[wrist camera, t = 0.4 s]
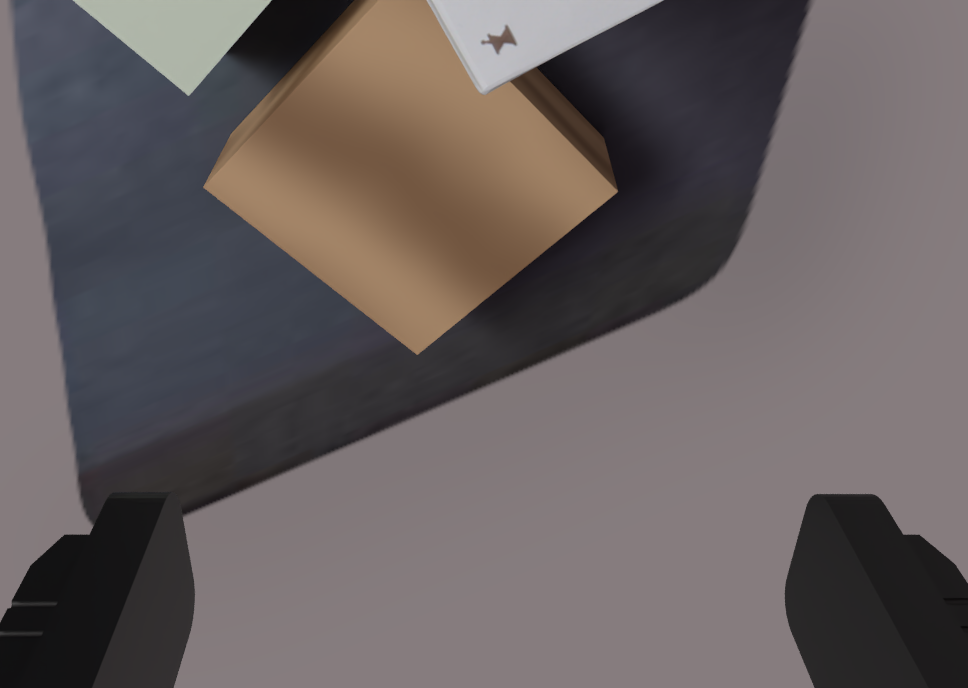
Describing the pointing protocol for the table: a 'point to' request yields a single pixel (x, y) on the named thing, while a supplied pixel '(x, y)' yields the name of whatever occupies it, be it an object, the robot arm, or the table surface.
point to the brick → (177, 31)
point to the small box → (523, 32)
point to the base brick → (410, 170)
